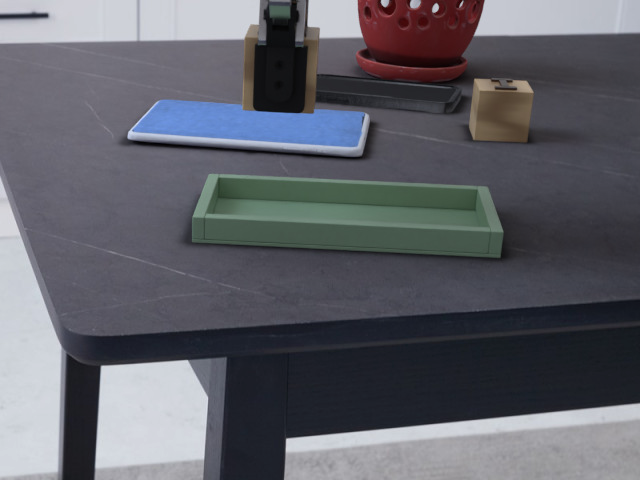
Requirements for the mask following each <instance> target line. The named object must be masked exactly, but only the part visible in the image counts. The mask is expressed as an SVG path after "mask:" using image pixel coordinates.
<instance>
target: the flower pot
mask: <svg viewBox="0 0 640 480" xmlns="http://www.w3.org/2000/svg"><path fill="white" fill-rule="evenodd" d="M485 1H486V0H420V3H419V5H418V6H417V7H411V6H412V5H411V2H412V0H388V3H387V5H386V6H384V5H383V4H382V0H357V14H358V15H357V17H358V23H359V28H360V33H361V35H362V38H363V41H364V44H365V46H366V47H365V48H361V49H359V50H358V51H357V52H356V54H355V58H356V62H357V64H358V67H360V69H362V71H364V72H365V73H366V74H368V75H369V76H372V77H373V78H376V79H387V80H398V81H409V82H420V83H432V84H437V83H446V82H450V81H452V80H455V79H457V78H460V76H461V75H463V73H464V72H465V71H466V70H467V68H468V63H469V62H468V59H467V58H465V57H464V56H463V54H464V53H465V52H466V50H467V49H468V47H469V45H471V42H472V41H473V38H474V36H475V34H476V32H477V29H478V27H479V24H480V21H481V18H482V15H483V11H484V5H485ZM436 4H437V6H438V8H437V11H434V12H433V8H434V6H435V5H436Z"/></svg>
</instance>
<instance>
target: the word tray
mask: <svg viewBox="0 0 640 480" xmlns="http://www.w3.org/2000/svg"><path fill="white" fill-rule="evenodd" d="M502 226H503V225H502V223H501V220H500V217H499V214H498V212H497V209H496V206H495V204H494V201H493V198H492V195H491V192H490V189H489V187H488V186H483V185H466V184H465V185H463V184H443V183H423V182H422V183H421V182H402V181H401V182H399V181H378V180H358V179H357V180H356V179H335V178H317V177H316V178H314V177H311V178H310V177H293V176H292V177H291V176H272V175H251V174H249V175H247V174H229V173H228V174H226V173H220V174H219V173H209V174H208V175H207V177H206V180H205V183H204V186H203V188H202V190H201V194H200V196H199V199H198V201H197V204H196V206H195V209H194V212H193V215H192V217H191V231H192V232H191V238H192V239H191V242H192V243H200V244H219V245H241V246H259V247H279V248H297V249H301V248H302V249H317V250H319V249H320V250H337V251H338V250H339V251H356V252H357V251H359V252H375V253H376V252H377V253H396V254H397V253H398V254H416V255H417V254H418V255H420V254H421V255H438V256H454V257H455V256H458V257H477V258H479V257H480V258H495V259H496V258H497V259H501V258H502V257H501V256H502V255H501V254H502V249H503V243H504V242H503V240H504V233H505V232H504V229H503V227H502Z"/></svg>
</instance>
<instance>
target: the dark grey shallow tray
mask: <svg viewBox="0 0 640 480" xmlns="http://www.w3.org/2000/svg"><path fill="white" fill-rule="evenodd" d="M462 92H463V87H461V86H459V85H452V84H444V83H443V84H441V83H420V82H409V81H398V80H387V79H381V78H377V77H365V76H364V77H363V76H352V75H340V74H330V73H317V86H316V100H315V103H327V104H336V105H337V104H338V105H346V106H347V105H349V106H358V107H368V108H381V109H390V110H401V111H411V112H422V113H432V114H450V113H453V111H454V110H455V108H456V107H457V105H458V104H459V102H460V101H461V99H462Z"/></svg>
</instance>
